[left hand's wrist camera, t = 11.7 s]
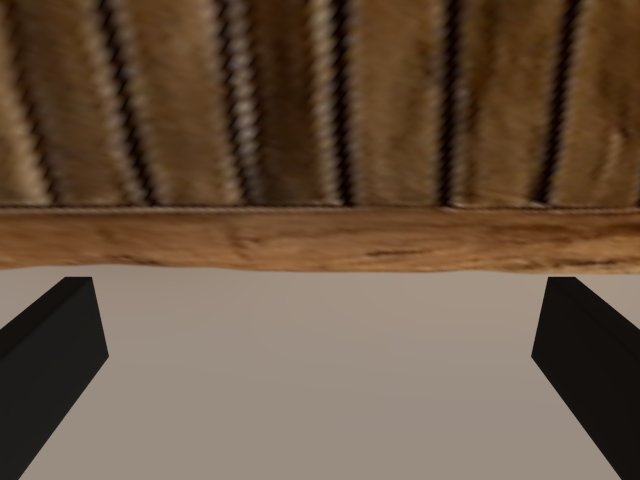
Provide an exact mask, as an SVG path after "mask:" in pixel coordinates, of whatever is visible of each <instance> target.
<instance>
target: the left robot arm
mask: <svg viewBox="0 0 640 480" xmlns="http://www.w3.org/2000/svg"><path fill="white" fill-rule="evenodd" d="M108 357H109V355H108V350H107V345H106V341H105V336H104V331H103V327H102V322H101V317H100V313H99V308H98V303H97V299H96V294H95V289H94V285H93V280H92V277H64V278H63V279H62V280H61V281H60V282H58V283H57V284H56V285H55V286H53V287H52V288H51V289H50V290H48V291H47V292H46V293H45V294H43V295H42V296H41V297H40V298H39V299H37V300H36V301H35V302H34V303H32V304H31V305H30V306H29V307H27V308H26V309H25V310H24V311H23V312H21V313H20V314H19V315H18V316H16V317H15V318H14V319H13V320H12V321H10V322H9V323H8V324H7V325H5V326H4V327H3V328H2V329H0V480H18V479H19V478H20V477H21V475H22V474H23V473H24V471H25V470H26V469H27V467H28V466H29V464H30V463H31V462H32V460H33V459H34V458H35V456H36V455H37V454H38V452H39V451H40V450H41V448H42V447H43V446H44V444H45V443H46V441H47V440H48V439H49V437H50V436H51V435H52V433H53V432H54V431H55V429H56V428H57V426H58V425H59V424H60V422H61V421H62V420H63V418H64V417H65V416H66V414H67V413H68V412H69V410H70V409H71V407H72V406H73V405H74V403H75V402H76V401H77V399H78V398H79V397H80V395H81V394H82V392H83V391H84V390H85V388H86V387H87V386H88V384H89V383H90V382H91V380H92V379H93V378H94V376H95V375H96V373H97V372H98V371H99V369H100V368H101V367H102V365H103V364H104V363H105V361H106V360H107V358H108ZM531 357H532V358H533V360H534V361H535V363H536V364H537V365H538V367H539V368H540V369H541V371H542V372H543V373H544V375H545V376H546V378H547V379H548V380H549V382H550V383H551V384H552V386H553V387H554V388H555V390H556V391H557V392H558V394H559V395H560V397H561V398H562V399H563V401H564V402H565V403H566V405H567V406H568V407H569V409H570V410H571V411H572V413H573V414H574V416H575V417H576V418H577V420H578V421H579V422H580V424H581V425H582V426H583V428H584V429H585V431H586V432H587V433H588V435H589V436H590V437H591V439H592V440H593V441H594V443H595V444H596V446H597V447H598V448H599V450H600V451H601V452H602V454H603V455H604V456H605V458H606V459H607V460H608V462H609V463H610V464H611V466H612V467H613V469H614V470H615V471H616V473H617V474H618V475H619V477H620V478H621V480H640V329H638V328H637V327H636V326H635V325H633V324H632V323H631V322H630V321H629V320H627V319H626V318H625V317H624V316H622V315H621V314H620V313H619V312H617V311H616V310H615V309H614V308H613V307H611V306H610V305H609V304H608V303H606V302H605V301H604V300H603V299H601V298H600V297H599V296H598V295H597V294H595V293H594V292H593V291H592V290H590V289H589V288H588V287H587V286H585V285H584V284H583V283H582V282H581V281H579V280H578V279H577V278H576V277H548V280H547V285H546V289H545V294H544V299H543V303H542V308H541V313H540V317H539V322H538V327H537V331H536V336H535V341H534V345H533V350H532V355H531Z"/></svg>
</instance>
